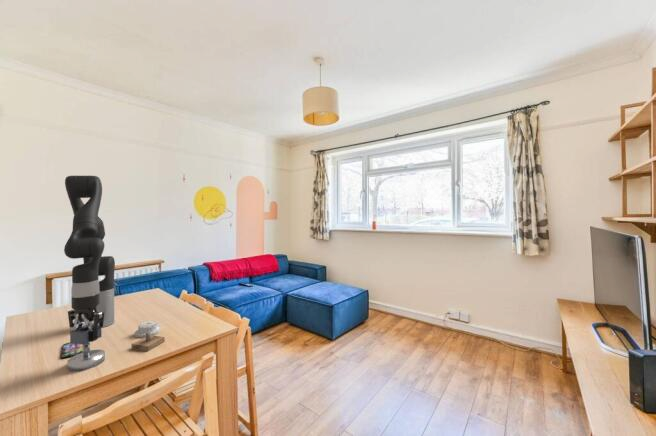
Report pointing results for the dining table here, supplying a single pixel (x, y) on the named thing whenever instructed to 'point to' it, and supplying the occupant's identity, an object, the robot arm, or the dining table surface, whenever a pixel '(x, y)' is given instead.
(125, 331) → the dining table surface
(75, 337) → the grey notched block
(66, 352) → the smartphone
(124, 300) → the dining table surface
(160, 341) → the stand
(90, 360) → the stand
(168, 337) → the dining table surface
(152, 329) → the grey rounded lump
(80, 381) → the dining table surface
